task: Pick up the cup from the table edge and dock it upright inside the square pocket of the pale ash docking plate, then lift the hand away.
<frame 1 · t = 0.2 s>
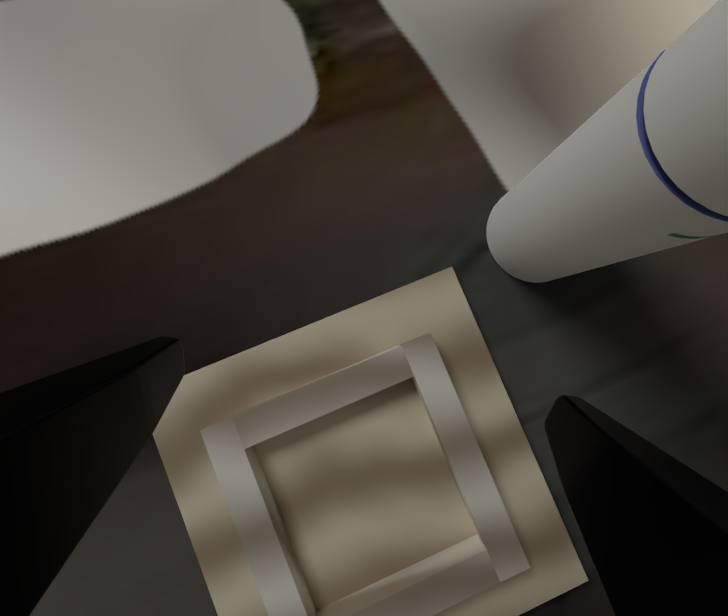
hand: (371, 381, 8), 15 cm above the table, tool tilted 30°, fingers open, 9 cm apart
docking plate: (363, 480, 22), on the table
cylindrical container: (532, 235, 24), on the table
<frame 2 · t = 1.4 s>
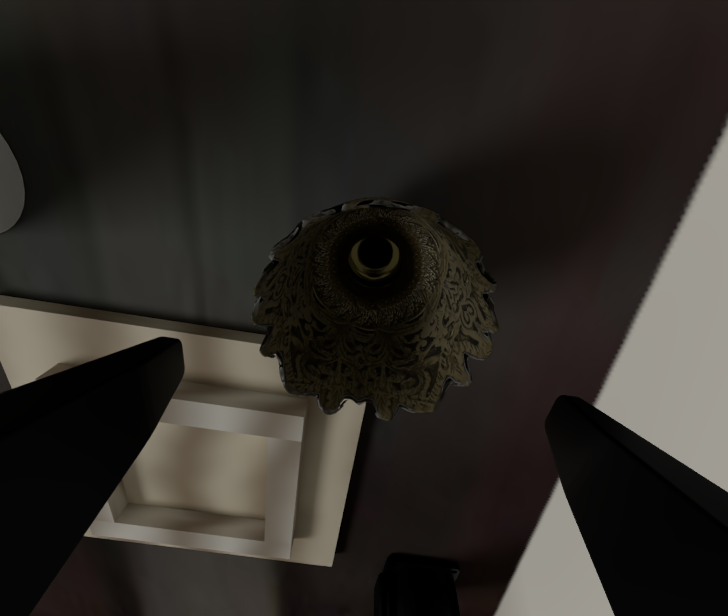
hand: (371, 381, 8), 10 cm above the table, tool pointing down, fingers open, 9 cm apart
docking plate: (201, 452, 24), on the table
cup: (375, 251, 17), on the table
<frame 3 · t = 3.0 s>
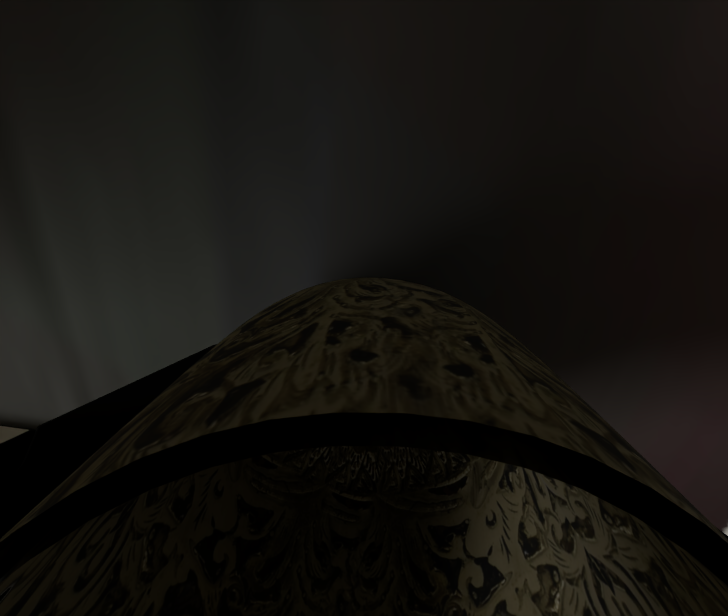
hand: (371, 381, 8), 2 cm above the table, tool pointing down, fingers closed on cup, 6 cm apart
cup: (372, 333, 10), on the table, touching gripper
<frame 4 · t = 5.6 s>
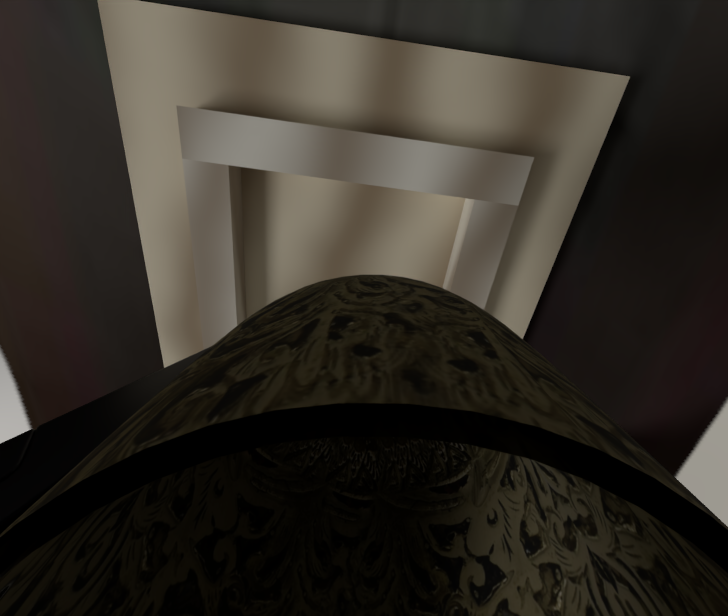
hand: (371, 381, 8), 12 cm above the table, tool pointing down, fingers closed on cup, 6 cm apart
docking plate: (344, 276, 19), on the table
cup: (373, 331, 10), point 10 cm above the table, touching gripper
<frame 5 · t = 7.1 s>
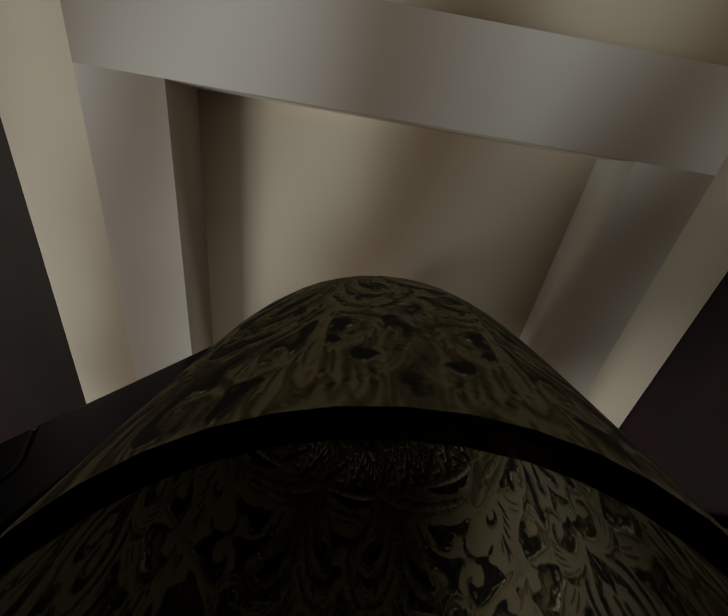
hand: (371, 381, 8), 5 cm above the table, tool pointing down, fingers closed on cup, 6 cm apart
docking plate: (370, 293, 12), on the table
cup: (372, 332, 10), point 3 cm above the table, touching gripper
when the fingers open (4 cm above the table, at t = 8.3 s): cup stays where it is, resting on docking plate.
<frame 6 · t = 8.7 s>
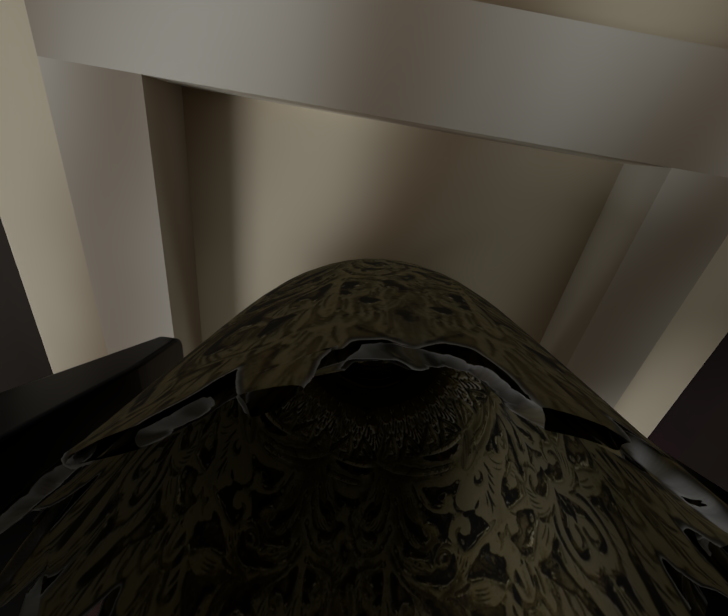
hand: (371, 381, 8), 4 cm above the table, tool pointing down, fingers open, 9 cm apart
docking plate: (372, 306, 11), on the table
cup: (374, 318, 11), point 1 cm above the table, touching docking plate
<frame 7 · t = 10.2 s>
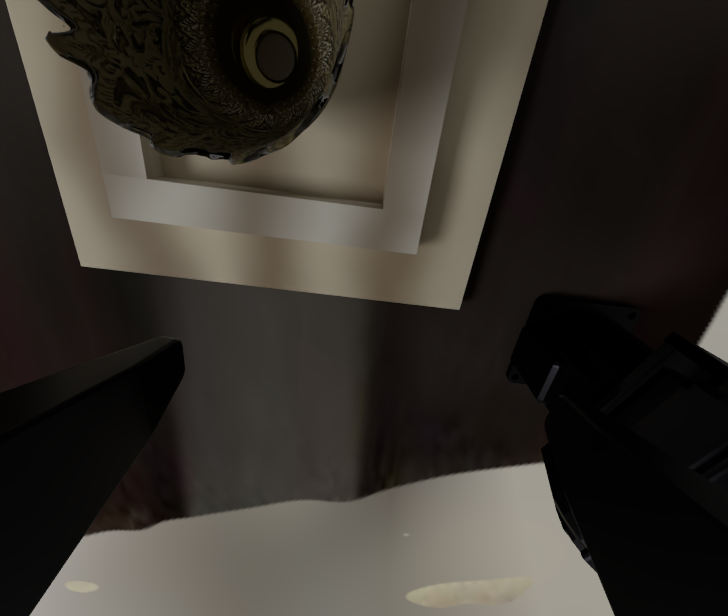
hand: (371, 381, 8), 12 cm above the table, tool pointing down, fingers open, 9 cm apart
docking plate: (280, 62, 15), on the table
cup: (277, 58, 14), point 1 cm above the table, touching docking plate
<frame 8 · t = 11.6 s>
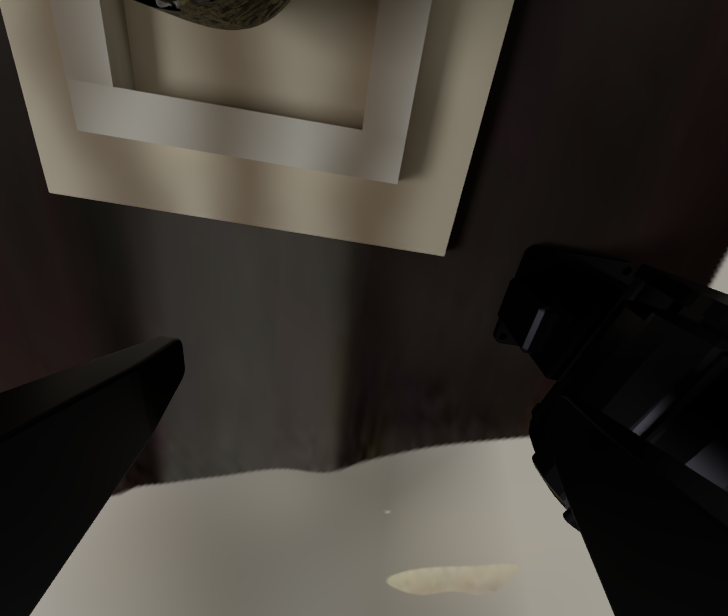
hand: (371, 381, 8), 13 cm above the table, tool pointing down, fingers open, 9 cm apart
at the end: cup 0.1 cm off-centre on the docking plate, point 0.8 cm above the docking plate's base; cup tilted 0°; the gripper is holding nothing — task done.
